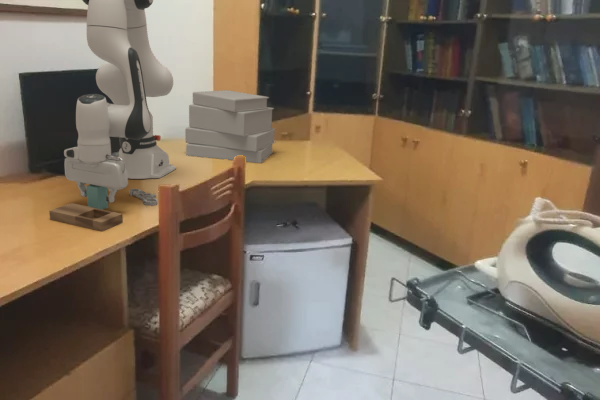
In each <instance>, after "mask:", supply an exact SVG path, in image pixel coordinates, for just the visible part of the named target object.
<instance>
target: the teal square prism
mask: <svg viewBox="0 0 600 400" xmlns="http://www.w3.org/2000/svg"><path fill="white" fill-rule="evenodd" d="M85 187H86V189H87V197H86V199H87V200H86V201H87V202H86V203H87V206H88V207H93V208H97V209H102V210H106V209H107V208H109V202H107V201H106V196H109V194H108V188H107V187H102V186H96V185H91V184H86V185H85Z"/></svg>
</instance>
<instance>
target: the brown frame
mask: <svg viewBox="0 0 600 400" xmlns="http://www.w3.org/2000/svg"><path fill="white" fill-rule="evenodd" d="M48 214H49V219H50V221H51V220H52V221H55V222H60V223H65V224H68V225H74V226H77V227H82V228H86V229H90V230H96V231H99V232H104V231H106V230H110V229H111V228H113V227H116V226H118V225H120V224H122V223H123V218H124V217H123V213H119V212H115V211H110V210H106V209H103V210H102V209H97V208H93V207H88V205H83V204H78V203H74V202H69V203H68V204H64V205H62V206H59V207H55V208H53V209H50V210H49V213H48Z"/></svg>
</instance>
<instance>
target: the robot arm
mask: <svg viewBox="0 0 600 400" xmlns="http://www.w3.org/2000/svg"><path fill="white" fill-rule="evenodd" d="M82 2H83V3H84V4H85V5H87V13H86V41H87V45H88V48H89V49H90V51H91V52H92V53H93V54H94V56H97V57H98V58H99V59H101V60H103V61H105V62H107V63H104V64H101V65H100V66H99V67H98V69H97V70H96V73H95V81H96V86H97V87H98V89H99V90H100V91H101V92H102V93H103V94H105V96H104V95H102V94H98V93H89V94H83V95H81V96H79V97H78V98H77V101H76V107H75V125H76V126H75V127H76V131H77V134H78V137H77V142H76V143H77V145H76V146H74V147H69V148H66V149H64V151H63V155H64V157H65V158H64V165H63V166H64V175H65V178H66V179H67V180H68V181H70V182H76V186H77V188H78V190H79V192H80V197H82V198H83V197H84V198H87V189H86V185H90V184H91V185H96V186H102V187H107V191H108V192H109V194H108V196H106V201H107V202H108V203H113V202H115V196H116V194H117V192H118V191H119V190H123V189H125V188H127V187H128V186H129V181H128V180H129V179H132V180H142V179H143V180H144V179H146V180H147V179H161V178H163V177H164V176H166V175H168V174H169V173H171V172H173V171H175V170H176V169H177V167H176V165H173V164H171V163H170V157H169V154H168V153H167V151H165V150H163V149H162V147H160V146H159V145H157V144H158V143H157V141H158V142H160V141H161V139H162V136H161V135H157V134H154V121H153V120H154V119H153V114H152V113H151V111H150V110H149V107H148V106H149V105H148V103H147V98H158V97H163V96H168V95H169V94H170V93H171V91H172V89H173V88H174V77H173V75H172V71H170V70H169V69H168V67H166V66H165V65H163V64H162V63H161V62H160V61H159V60H158V59H157V58H156V56H155V54H154V53H153V51H152V48H151V45H150V42H149V41H150V40H149V34H148V26H147V25H148V24H147V17H146V11H145V9H148V8H150V7H151V5H152V4H153V2H154V0H82ZM106 97H108V98H109V99H110V100H111V102H112V103H110V102H108V101H107V98H106ZM110 137H113V138H119V146H120V148H119V151H118V155H117V156H115V155H112V144H111V143H112V141H111V138H110Z"/></svg>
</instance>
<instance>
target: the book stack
mask: <svg viewBox="0 0 600 400" xmlns="http://www.w3.org/2000/svg"><path fill="white" fill-rule="evenodd" d="M269 98H270V97H269V96H265V95H258V94H251V93H245V92H241V91H235V90H234V91H233V90H228V89H225V90H211V91H210V90H208V91H193V92H192V104H188V105H189V106H188V115H189V116H188V123H189V124H188V127H185V132H184V133H185V143H186V147H185V148H186V149H185V153H186V156H187V155H188V156H187V157H194V156H197V157H196V158H204V157H208V159H214V158H217V159H216V160H224V159H228V161H234V160H233V159H234V157H235V156H237V155H243V156H245V157H246V161H247V162H246V163H255V164H262V163H263V162H264V161H265V160H267V159H268V158H269V157H270V156H272V154H273V153H274V151H273V144H276V141H275V131H276V130H277V129H276V128H275V127H274V128H273V127H272V125H273V124H272V123H273V120H272V119H273V110H275V108H274V107H268V105H267V103H268V99H269Z"/></svg>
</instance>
